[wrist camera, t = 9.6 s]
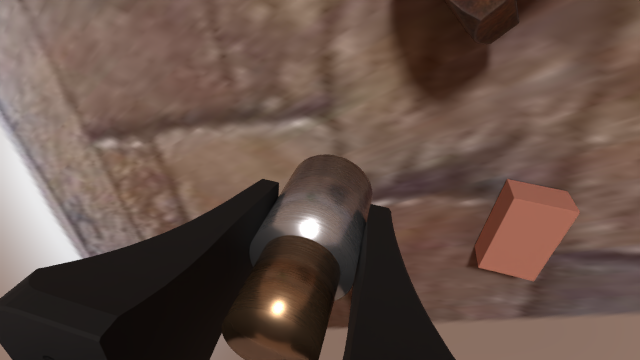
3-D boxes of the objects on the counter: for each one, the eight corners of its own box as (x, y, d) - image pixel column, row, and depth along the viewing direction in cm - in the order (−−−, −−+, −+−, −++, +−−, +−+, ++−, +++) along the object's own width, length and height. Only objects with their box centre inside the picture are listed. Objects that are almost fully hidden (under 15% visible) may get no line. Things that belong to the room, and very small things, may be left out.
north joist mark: (567, 191, 18) (579, 212, 17) (526, 258, 21) (533, 280, 19) (507, 179, 18) (514, 198, 17) (474, 246, 21) (478, 267, 20)
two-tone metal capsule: (380, 165, 12) (345, 324, 7) (364, 231, 14) (327, 398, 9) (293, 146, 13) (200, 281, 7) (289, 212, 15) (211, 360, 9)
